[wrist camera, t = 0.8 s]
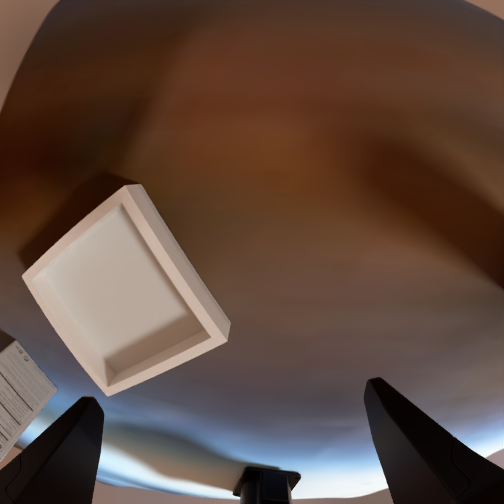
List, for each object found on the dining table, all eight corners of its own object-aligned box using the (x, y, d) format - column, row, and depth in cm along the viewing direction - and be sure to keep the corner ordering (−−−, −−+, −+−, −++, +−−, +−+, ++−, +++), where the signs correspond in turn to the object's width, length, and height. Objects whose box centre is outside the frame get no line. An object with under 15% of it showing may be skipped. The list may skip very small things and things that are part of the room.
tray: (230, 322, 24) (227, 341, 21) (119, 378, 26) (107, 396, 23) (140, 184, 22) (124, 185, 19) (41, 266, 24) (21, 276, 21)
